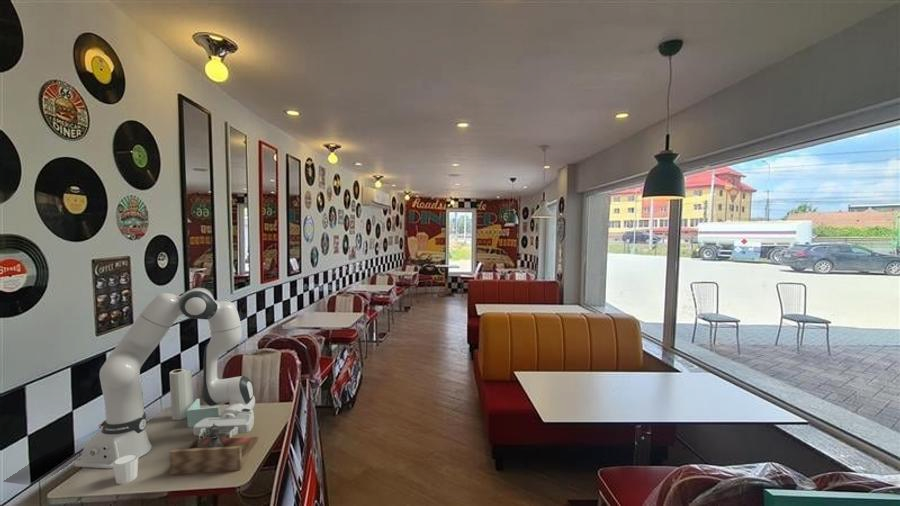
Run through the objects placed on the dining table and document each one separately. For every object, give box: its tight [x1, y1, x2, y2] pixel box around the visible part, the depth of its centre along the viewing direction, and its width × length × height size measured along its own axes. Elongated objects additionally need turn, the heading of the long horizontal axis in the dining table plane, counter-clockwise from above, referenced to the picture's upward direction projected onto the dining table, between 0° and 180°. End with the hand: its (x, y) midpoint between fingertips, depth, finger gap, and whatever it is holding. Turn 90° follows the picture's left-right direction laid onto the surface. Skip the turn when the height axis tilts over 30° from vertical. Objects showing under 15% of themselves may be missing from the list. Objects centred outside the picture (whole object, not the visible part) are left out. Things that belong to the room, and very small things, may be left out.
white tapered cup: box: [112, 454, 139, 485], centre depth 137 cm, size 7×7×7 cm
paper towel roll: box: [168, 368, 194, 421], centre depth 179 cm, size 7×6×21 cm
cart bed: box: [169, 436, 259, 475], centre depth 150 cm, size 23×21×8 cm
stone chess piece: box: [206, 424, 224, 448], centre depth 148 cm, size 6×6×12 cm
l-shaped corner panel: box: [186, 398, 220, 428], centre depth 178 cm, size 12×12×8 cm
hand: (214, 436), depth 147 cm, fingers open, 8 cm apart
